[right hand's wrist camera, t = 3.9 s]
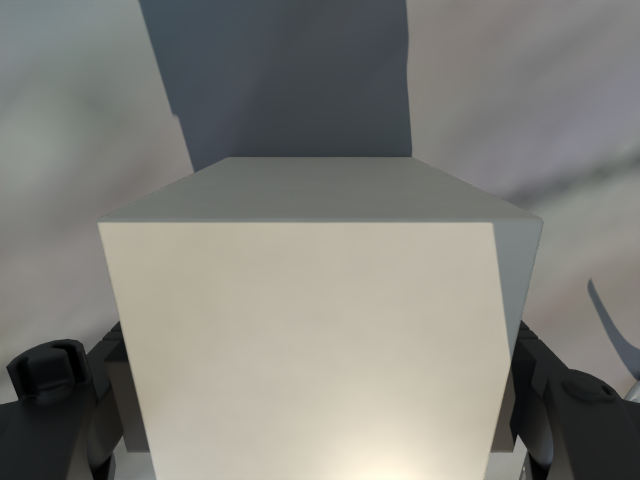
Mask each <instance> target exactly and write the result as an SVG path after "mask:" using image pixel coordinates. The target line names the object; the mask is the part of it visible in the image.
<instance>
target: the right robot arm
mask: <svg viewBox="0 0 640 480" xmlns="http://www.w3.org/2000/svg"><path fill="white" fill-rule="evenodd" d="M6 368H7V370H8V373H9V375H10V378H11V381H12V383H13V386H14V388H15V391H16V394H17V396H18V401H15V402H10V403H6V404H1V405H0V480H114V476H115V468H116V463H115V457H114V453H113V450H114V448H115V447H116V445H117V444H118V442H119V440H120V439H121V437H122V435H123V437H124V441H125V445H126V449H127V452H150V449H149V445H148V441H147V437H146V432H145V428H144V424H143V419H142V415H141V411H140V406H139V402H138V398H137V394H136V389H135V385H134V381H133V376H132V372H131V368H130V363H129V359H128V355H127V350H126V346H125V342H124V338H123V333H122V329H121V325H120V321H119V322H118V323H117V324H116V325H115V326H114V327H113V328H112V329H111V332H108V333H107V334H106V335H105V336H104V337H103V338H102V341H100V342H99V343H98V344H97V345H96V346H95V347H94V348H93V349H92V350H91V351H90V352H89V353H88V354H87V355H86V354H85V350H84V347H83V344H82V343H80V342H79V341H77V340H71V339H64V340H55V341H51V342H48V343H44V344H40V345H38V346H36V347H34V348H31V349H29V350H27V351H25V352H24V353H22V354H20V355H19V356H17V357H16V358H14V359H13V360H12V361H11V363H10V364H9V365H8V366H7V367H6ZM517 435H519V436H520V438H521V440H522V441H523V443H524V445H525V446H526V448H527V453H526V457H525V460H524V464H523V467H522V471H521V474H520V478H519V480H640V403H637V402H633V401H628V400H624V399H621V397H620V396H619V395H618V393H617V392H616V391H615V390H614V389H613V388H612V387H610V386H609V385H608V384H606V383H605V382H604V381H602V380H600V379H598V378H596V377H594V376H592V375H590V374H587V373H584V372H581V371H578V370H573V369H569V368H568V367H567V366H566V365H565V364H564V363H563V362H562V361H561V360H560V359H559V358H558V357H557V356H556V355H555V354H554V353H553V352H552V351H551V350H550V349H549V348H548V347H547V346H546V345H545V344H544V343H543V342H542V341H541V340H539V339H538V337H537V336H536V335H535V333H534V332H533V331H532V330H529V327H528V326H527V325H526V324H525V323H524V322H523V321H522V320H521V322H520V326H519V330H518V335H517V339H516V343H515V348H514V352H513V356H512V361H511V365H510V369H509V373H508V378H507V382H506V386H505V391H504V395H503V399H502V404H501V408H500V412H499V416H498V421H497V425H496V429H495V434H494V438H493V442H492V447H491V451H490V452H513V450H514V446H515V442H516V438H517Z"/></svg>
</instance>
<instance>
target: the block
mask: <svg viewBox="0 0 640 480" xmlns="http://www.w3.org/2000/svg"><path fill="white" fill-rule="evenodd" d="M97 226H98V230H99V234H100V238H101V243H102V247H103V251H104V256H105V260H106V264H107V269H108V273H109V277H110V282H111V286H112V290H113V294H114V299H115V303H116V307H117V312H118V316H119V320H120V325H121V329H122V333H123V338H124V342H125V346H126V350H127V355H128V359H129V363H130V368H131V372H132V376H133V381H134V385H135V389H136V394H137V398H138V402H139V406H140V411H141V415H142V419H143V424H144V428H145V432H146V437H147V441H148V445H149V449H150V454H151V458H152V462H153V467H154V471H155V475H156V480H484V477H485V472H486V468H487V464H488V459H489V455H490V451H491V447H492V442H493V438H494V434H495V429H496V425H497V421H498V416H499V412H500V408H501V404H502V399H503V395H504V391H505V386H506V382H507V378H508V373H509V369H510V365H511V361H512V356H513V352H514V348H515V343H516V339H517V335H518V330H519V326H520V322H521V318H522V313H523V309H524V305H525V300H526V296H527V292H528V287H529V283H530V279H531V275H532V270H533V266H534V262H535V257H536V253H537V249H538V244H539V240H540V236H541V232H542V227H543V219H542V218H540V217H538V216H536V215H534V214H531V213H529V212H527V211H525V210H523V209H521V208H519V207H517V206H515V205H512V204H510V203H508V202H506V201H504V200H502V199H500V198H498V197H496V196H493V195H491V194H489V193H487V192H485V191H483V190H481V189H479V188H477V187H474V186H472V185H470V184H468V183H466V182H464V181H462V180H460V179H458V178H455V177H453V176H451V175H449V174H447V173H445V172H443V171H441V170H439V169H436V168H434V167H432V166H430V165H428V164H426V163H424V162H422V161H420V160H417V159H415V158H413V157H227V158H225V159H223V160H221V161H219V162H216V163H214V164H212V165H210V166H208V167H206V168H204V169H202V170H200V171H197V172H195V173H193V174H191V175H189V176H187V177H185V178H183V179H181V180H178V181H176V182H174V183H172V184H170V185H168V186H166V187H164V188H162V189H159V190H157V191H155V192H153V193H151V194H149V195H147V196H145V197H143V198H140V199H138V200H136V201H134V202H132V203H130V204H128V205H126V206H124V207H122V208H119V209H117V210H115V211H113V212H111V213H109V214H107V215H105V216H103V217H100V218H98V220H97Z"/></svg>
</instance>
